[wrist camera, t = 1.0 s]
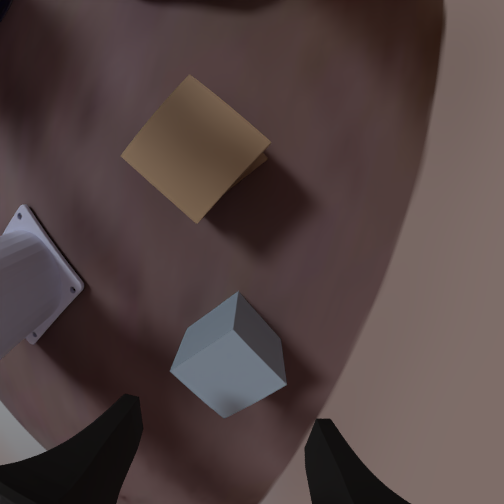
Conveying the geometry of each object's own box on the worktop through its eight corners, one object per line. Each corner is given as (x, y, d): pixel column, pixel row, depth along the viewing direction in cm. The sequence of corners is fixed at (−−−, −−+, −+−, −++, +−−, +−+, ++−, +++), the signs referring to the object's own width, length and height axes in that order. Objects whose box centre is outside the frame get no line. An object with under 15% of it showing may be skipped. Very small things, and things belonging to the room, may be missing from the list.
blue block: (230, 370, 21) (224, 418, 16) (187, 327, 20) (169, 371, 16) (280, 338, 20) (287, 384, 16) (238, 290, 20) (232, 329, 15)
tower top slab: (204, 216, 16) (196, 224, 14) (137, 156, 15) (120, 155, 13) (269, 145, 15) (271, 142, 13) (198, 86, 14) (189, 74, 12)
